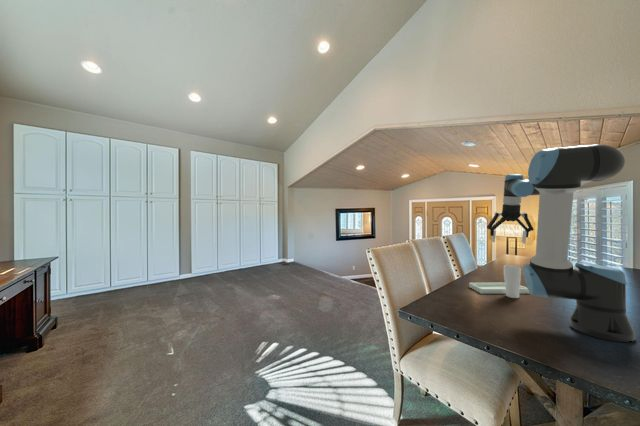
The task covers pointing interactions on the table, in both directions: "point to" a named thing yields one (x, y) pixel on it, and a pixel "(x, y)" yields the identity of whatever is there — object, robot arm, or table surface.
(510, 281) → the drinking glass
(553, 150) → the robot arm
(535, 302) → the table surface
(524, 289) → the tray
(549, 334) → the table surface
